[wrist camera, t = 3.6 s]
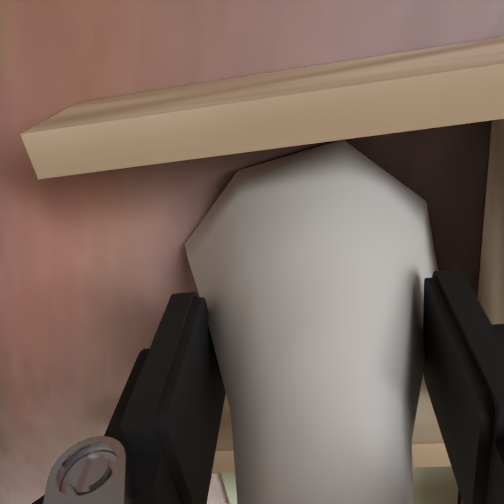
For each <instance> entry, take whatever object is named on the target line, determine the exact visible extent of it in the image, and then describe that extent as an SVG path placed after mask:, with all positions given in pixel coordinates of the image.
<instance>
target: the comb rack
mask: <svg viewBox="0 0 504 504" xmlns="http://www.w3.org/2000/svg"><path fill="white" fill-rule="evenodd" d="M490 120H492V126H491V139H490V151H489V163H488V175H487V188H486V200H485V212H484V224H483V236H482V249H481V261H480V273H479V285H478V298H477V299H478V301H479V302H480V304H481V306H482V308H483V309H484V311H485V313H486V315H487V317H488V318H489V320H490V322H491V324H504V37H498V38H491V39H485V40H478V41H472V42H465V43H459V44H452V45H446V46H440V47H433V48H427V49H420V50H414V51H407V52H401V53H394V54H388V55H381V56H375V57H368V58H362V59H355V60H349V61H342V62H336V63H329V64H323V65H316V66H310V67H304V68H297V69H291V70H284V71H278V72H271V73H265V74H258V75H252V76H245V77H239V78H232V79H226V80H219V81H213V82H206V83H200V84H193V85H187V86H180V87H174V88H168V89H161V90H155V91H148V92H142V93H135V94H129V95H122V96H116V97H109V98H103V99H96V100H90V101H83V102H78V103H76V104H74V105H72V106H70V107H69V108H67V109H65V110H63V111H61V112H60V113H58V114H56V115H54V116H52V117H51V118H49V119H47V120H45V121H43V122H42V123H40V124H38V125H36V126H34V127H33V128H31V129H29V130H27V131H25V132H23V133H22V134H20V135H21V137H22V140H23V142H24V145H25V147H26V150H27V153H28V155H29V158H30V160H31V163H32V165H33V168H34V170H35V173H36V175H37V178H38V179H45V178H53V177H60V176H68V175H76V174H83V173H91V172H99V171H106V170H114V169H122V168H129V167H137V166H145V165H152V164H160V163H168V162H175V161H183V160H191V159H198V158H206V157H214V156H221V155H229V154H237V153H244V152H252V151H260V150H267V149H275V148H283V147H291V146H298V145H306V144H314V143H321V142H329V141H337V140H344V139H352V138H360V137H367V136H375V135H383V134H390V133H398V132H406V131H413V130H421V129H429V128H436V127H444V126H452V125H459V124H467V123H475V122H482V121H490ZM412 469H413V501H414V504H457V500H458V486H457V483H456V479H455V476H454V473H453V470H452V467H451V464H450V460H449V457H448V454H447V451H446V448H445V444H444V441H443V438H442V435H441V432H440V429H439V425H438V422H437V419H436V416H435V413H434V410H433V406H432V403H431V400H430V397H429V394H428V390H427V387H426V384H425V381H424V376H423V377H422V383H421V389H420V395H419V401H418V407H417V413H416V419H415V425H414V430H413V436H412ZM212 473H221V476H222V479H223V483H224V486H225V490H226V493H227V497H228V500H229V503H230V504H237V492H236V478H235V464H234V451H233V437H232V423H231V411H230V407H229V403H228V399H227V395H226V394H225V400H224V405H223V411H222V417H221V423H220V428H219V434H218V440H217V446H216V451H215V457H214V463H213V469H212ZM461 504H463V502H462V499H461Z"/></svg>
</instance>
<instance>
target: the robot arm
mask: <svg viewBox="0 0 504 504" xmlns="http://www.w3.org/2000/svg"><path fill="white" fill-rule="evenodd" d="M208 317H209V311H208V307H207V303H206V300H205V298H204V297H198V295H197V294H196V293H195V292H188V293H177V294H172V295H171V297H170V300H169V302H168V305H167V307H166V310H165V312H164V315H163V317H162V320H161V322H160V325H159V327H158V330H157V332H156V335H155V337H154V339H153V342H152V344H151V347H150V349H143V350H142V351H141V352H140V353H139V355H138V357H137V360H136V362H135V364H134V367H133V369H132V371H131V374H130V376H129V378H128V381H127V383H126V386H125V388H124V390H123V393H122V395H121V397H120V400H119V402H118V404H117V407H116V409H115V411H114V414H113V416H112V418H111V421H110V423H109V426H108V428H107V430H106V433H105V435H104V436H98V437H92V438H89V439H86V440H83V441H81V442H79V443H77V444H76V445H74V446H72V447H71V448H69V449H68V450H67V451H66V452H65V453H64V454H63V455H62V456H61V457H60V458H59V459H58V460H57V462H56V463H55V465H54V466H53V467H52V469H51V472H50V475H49V477H48V481H47V486H46V491H45V495H44V496H42V497H41V498H39V499H38V500H36V501H35V502H34V503H32V504H206V503H207V497H208V492H209V486H210V480H211V474H212V469H213V463H214V457H215V451H216V446H217V440H218V434H219V428H220V423H221V417H222V411H223V405H224V400H225V394H226V392H225V388H224V384H223V380H222V376H221V372H220V368H219V364H218V361H217V357H216V353H215V349H214V345H213V341H212V337H211V333H210V330H209V326H208ZM423 339H424V351H425V365H424V371H423V376H424V381H425V384H426V387H427V390H428V394H429V397H430V400H431V403H432V406H433V410H434V413H435V416H436V419H437V422H438V425H439V429H440V432H441V435H442V438H443V441H444V444H445V448H446V451H447V454H448V457H449V460H450V464H451V467H452V470H453V473H454V476H455V479H456V483H457V486H458V489H459V492H460V495H461V499H462V502H463V504H504V324H491V322H490V320H489V318H488V317H487V315H486V313H485V311H484V309H483V308H482V306H481V304H480V302H479V301H478V299H477V297H476V295H475V293H474V292H473V290H472V288H471V286H470V285H469V283H468V281H467V279H466V277H465V276H464V274H463V272H462V271H461V269H450V270H439V271H434V272H433V275H432V277H431V278H425V279H424V306H423Z"/></svg>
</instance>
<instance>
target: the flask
mask: <svg viewBox="0 0 504 504" xmlns="http://www.w3.org/2000/svg"><path fill="white" fill-rule="evenodd" d="M184 246H185V249H186V253H187V257H188V261H189V265H190V268H191V271H192V274H193V277H194V280H195V284H196V287H197V290H198V293H199V296H200V297H204V298H205V300H206V303H207V307H208V311H209V317H208V326H209V330H210V333H211V337H212V341H213V345H214V349H215V353H216V357H217V361H218V364H219V368H220V372H221V376H222V380H223V384H224V388H225V392H226V395H227V399H228V403H229V407H230V411H231V423H232V437H233V451H234V464H235V478H236V492H237V504H414V501H413V469H412V436H413V430H414V425H415V419H416V413H417V407H418V401H419V395H420V389H421V383H422V377H423V371H424V365H425V351H424V339H423V306H424V279H425V278H431V277H432V275H433V272H434V271H438V266H437V260H436V254H435V249H434V243H433V237H432V231H431V225H430V219H429V214H428V208H427V202H426V201H425V200H424V199H422V198H421V197H420V196H418V195H417V194H416V193H414V192H413V191H412V190H410V189H409V188H408V187H406V186H405V185H404V184H402V183H401V182H400V181H398V180H397V179H396V178H394V177H393V176H392V175H390V174H389V173H388V172H386V171H385V170H384V169H382V168H381V167H380V166H378V165H377V164H376V163H374V162H373V161H372V160H370V159H369V158H368V157H366V156H365V155H364V154H362V153H361V152H360V151H358V150H357V149H356V148H354V147H353V146H352V145H350V144H349V143H348V142H346V141H345V140H340V141H337V142H333V143H330V144H326V145H323V146H319V147H316V148H313V149H309V150H306V151H302V152H299V153H296V154H292V155H289V156H285V157H282V158H278V159H275V160H272V161H268V162H265V163H261V164H258V165H254V166H251V167H248V168H244V169H241V170H238V171H237V172H236V174H235V175H234V177H233V178H232V179H231V181H230V182H229V184H228V185H227V186H226V188H225V189H224V190H223V192H222V193H221V195H220V196H219V197H218V199H217V200H216V202H215V203H214V204H213V206H212V207H211V208H210V210H209V211H208V213H207V214H206V215H205V217H204V218H203V220H202V221H201V222H200V224H199V225H198V226H197V228H196V229H195V231H194V232H193V233H192V235H191V236H190V238H189V239H188V240H187V242H186V243H185V244H184Z"/></svg>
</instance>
